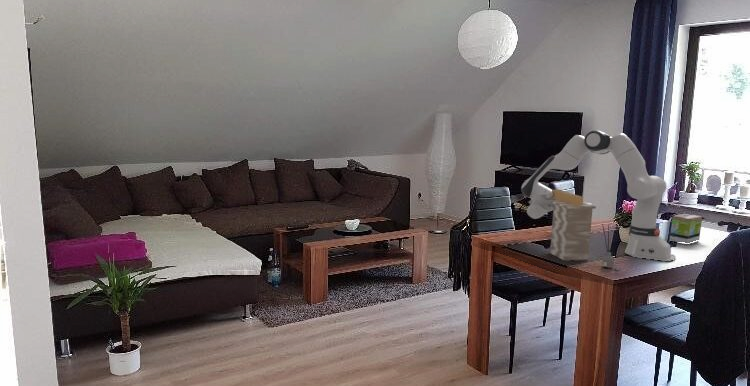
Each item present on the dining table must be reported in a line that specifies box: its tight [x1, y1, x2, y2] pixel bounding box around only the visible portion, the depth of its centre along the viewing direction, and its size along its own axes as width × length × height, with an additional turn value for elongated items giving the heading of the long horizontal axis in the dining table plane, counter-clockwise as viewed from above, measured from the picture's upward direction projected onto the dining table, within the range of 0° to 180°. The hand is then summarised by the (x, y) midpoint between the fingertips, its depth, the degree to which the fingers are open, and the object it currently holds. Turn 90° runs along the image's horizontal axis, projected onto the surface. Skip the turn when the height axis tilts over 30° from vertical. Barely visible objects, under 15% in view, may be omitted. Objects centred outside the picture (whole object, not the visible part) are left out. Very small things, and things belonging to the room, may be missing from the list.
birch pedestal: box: [549, 201, 597, 262], centre depth 268 cm, size 16×14×26 cm
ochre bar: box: [551, 189, 584, 205], centre depth 271 cm, size 22×4×4 cm, turn 11°
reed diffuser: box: [601, 223, 621, 271], centre depth 250 cm, size 10×7×20 cm
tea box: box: [669, 213, 703, 243], centre depth 305 cm, size 15×10×15 cm
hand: (558, 193), depth 279 cm, fingers closed on ochre bar, 4 cm apart
